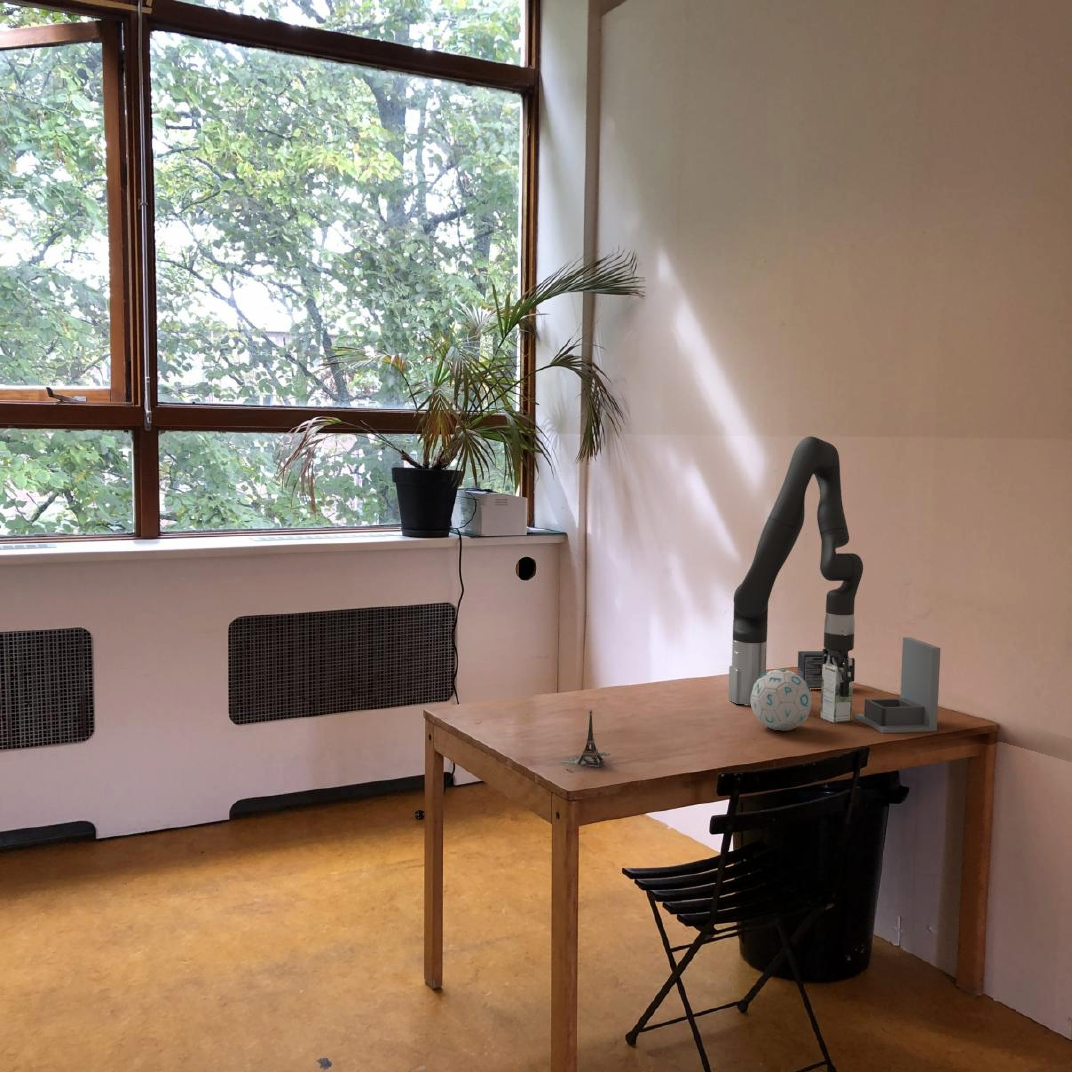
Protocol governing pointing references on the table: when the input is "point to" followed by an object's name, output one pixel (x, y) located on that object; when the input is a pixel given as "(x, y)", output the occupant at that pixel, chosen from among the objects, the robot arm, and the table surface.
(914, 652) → the wall holder
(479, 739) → the table surface
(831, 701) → the syrup box
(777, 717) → the puzzle ball
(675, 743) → the table surface
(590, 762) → the eiffel tower figurine
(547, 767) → the table surface
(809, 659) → the small box
